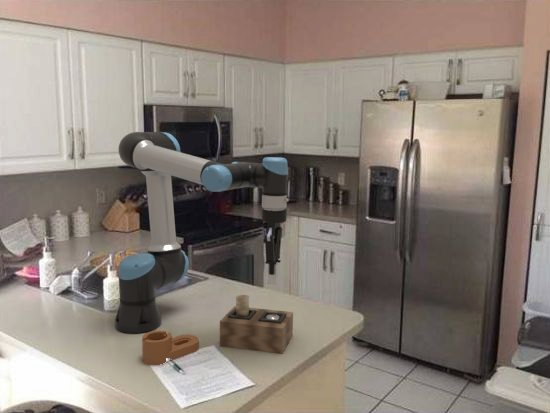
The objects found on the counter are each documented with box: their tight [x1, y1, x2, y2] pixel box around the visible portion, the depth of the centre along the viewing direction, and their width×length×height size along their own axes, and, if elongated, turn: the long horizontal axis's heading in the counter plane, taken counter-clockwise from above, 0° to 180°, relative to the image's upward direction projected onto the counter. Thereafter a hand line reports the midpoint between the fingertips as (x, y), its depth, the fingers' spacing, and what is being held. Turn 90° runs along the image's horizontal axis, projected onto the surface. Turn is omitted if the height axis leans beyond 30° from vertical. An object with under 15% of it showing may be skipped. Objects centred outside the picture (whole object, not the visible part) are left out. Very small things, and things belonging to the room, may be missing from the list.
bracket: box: [141, 330, 200, 366], centre depth 149 cm, size 18×8×7 cm, turn 134°
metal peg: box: [266, 314, 279, 320], centre depth 157 cm, size 4×4×8 cm
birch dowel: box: [235, 294, 250, 317], centre depth 159 cm, size 4×4×8 cm
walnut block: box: [219, 305, 294, 355], centre depth 158 cm, size 20×14×9 cm
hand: (272, 283), depth 155 cm, fingers closed
